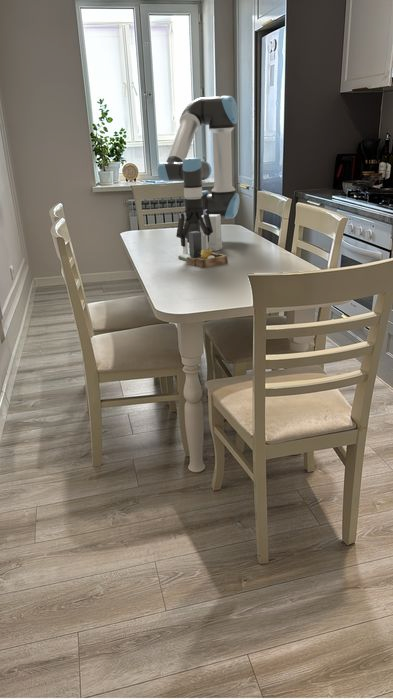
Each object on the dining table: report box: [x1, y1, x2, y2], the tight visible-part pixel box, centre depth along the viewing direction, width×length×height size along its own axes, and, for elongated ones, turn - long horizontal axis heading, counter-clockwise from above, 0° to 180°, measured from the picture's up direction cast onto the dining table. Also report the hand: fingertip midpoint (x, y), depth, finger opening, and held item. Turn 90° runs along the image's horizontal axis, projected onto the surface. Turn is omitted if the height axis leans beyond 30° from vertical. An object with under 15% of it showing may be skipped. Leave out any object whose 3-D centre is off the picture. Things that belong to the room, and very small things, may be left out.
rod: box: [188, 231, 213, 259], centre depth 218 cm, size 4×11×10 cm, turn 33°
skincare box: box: [200, 214, 223, 252], centre depth 237 cm, size 8×7×16 cm
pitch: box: [177, 252, 229, 269], centre depth 219 cm, size 13×21×3 cm, turn 33°
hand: (195, 252), depth 222 cm, fingers open, 9 cm apart
